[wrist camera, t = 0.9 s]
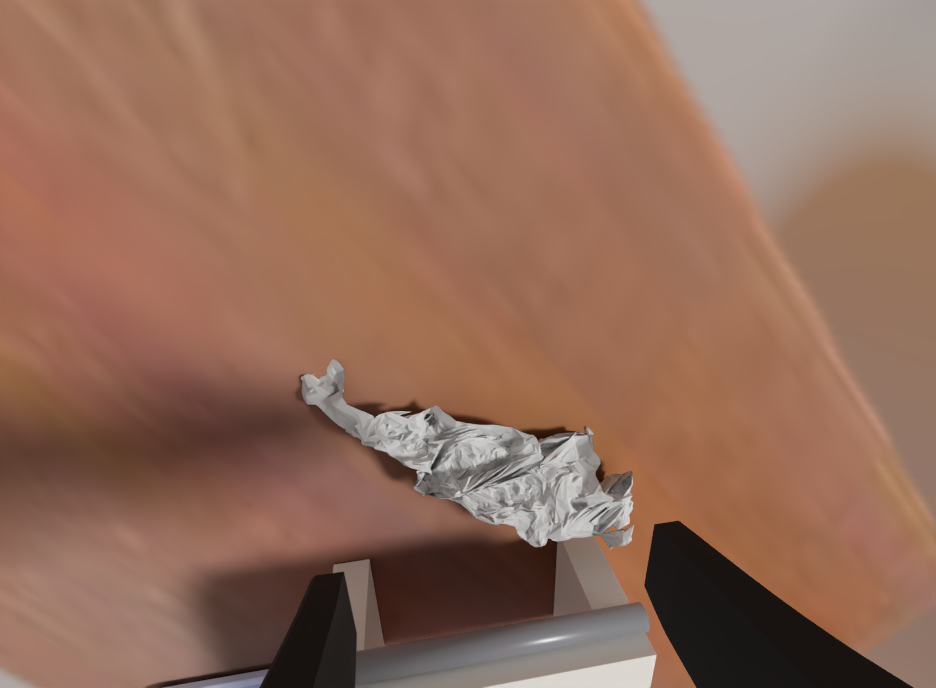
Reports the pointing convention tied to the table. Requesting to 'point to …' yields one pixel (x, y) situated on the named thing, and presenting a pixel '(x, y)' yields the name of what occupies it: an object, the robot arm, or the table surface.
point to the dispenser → (518, 637)
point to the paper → (492, 468)
